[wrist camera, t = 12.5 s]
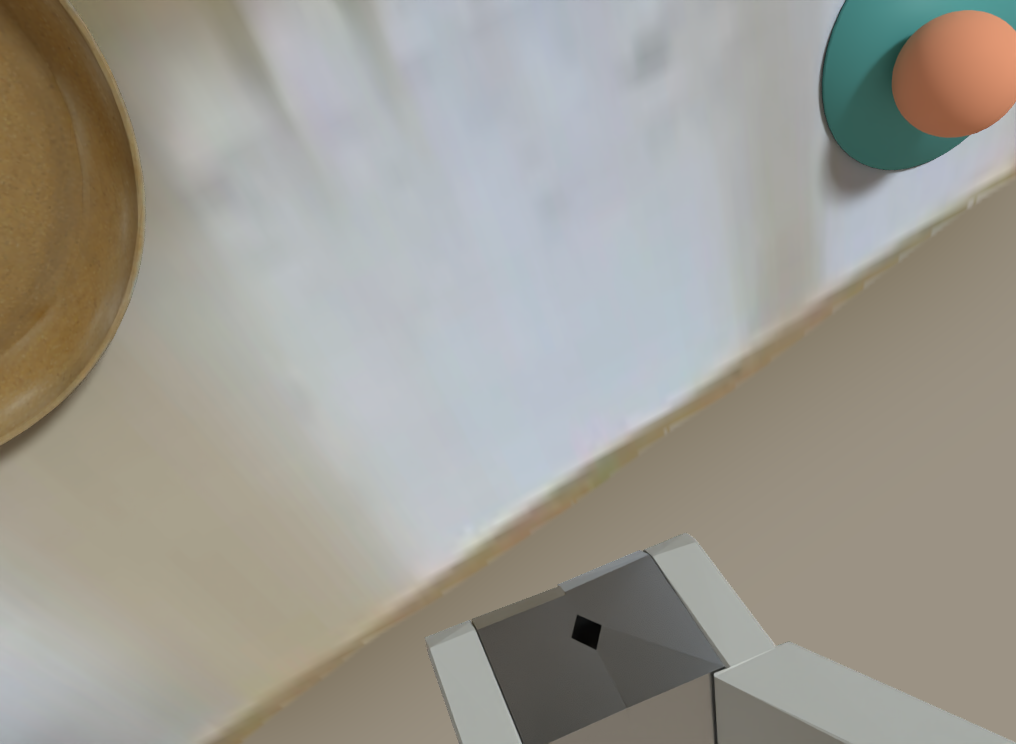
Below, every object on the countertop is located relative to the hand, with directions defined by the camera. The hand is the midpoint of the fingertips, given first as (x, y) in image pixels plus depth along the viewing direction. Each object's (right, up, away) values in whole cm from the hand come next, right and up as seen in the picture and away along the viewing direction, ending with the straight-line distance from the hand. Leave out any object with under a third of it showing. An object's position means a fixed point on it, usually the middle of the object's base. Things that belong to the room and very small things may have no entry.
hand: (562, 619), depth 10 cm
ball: (+20, +16, +31) cm, 40 cm away
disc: (+20, +18, +33) cm, 43 cm away
